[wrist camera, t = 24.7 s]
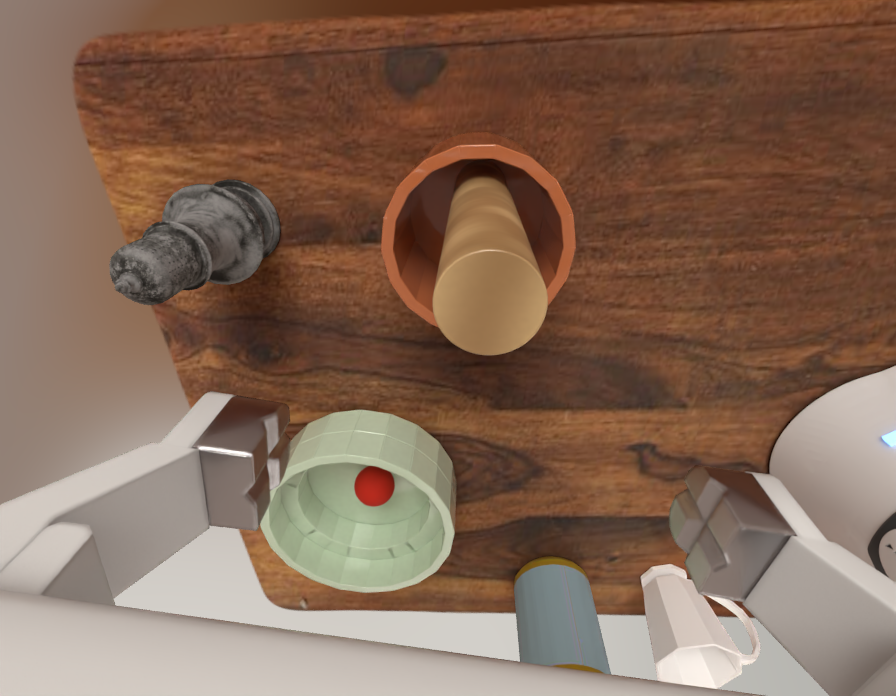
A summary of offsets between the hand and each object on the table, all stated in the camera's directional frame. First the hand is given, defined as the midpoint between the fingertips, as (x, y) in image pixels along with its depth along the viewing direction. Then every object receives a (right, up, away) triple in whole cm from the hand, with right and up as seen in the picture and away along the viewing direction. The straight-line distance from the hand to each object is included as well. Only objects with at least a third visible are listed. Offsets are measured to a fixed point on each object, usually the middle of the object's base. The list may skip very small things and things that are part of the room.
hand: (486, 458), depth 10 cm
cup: (+21, -20, +36) cm, 46 cm away
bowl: (-7, -9, +31) cm, 33 cm away
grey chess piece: (-14, +10, +21) cm, 28 cm away
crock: (+1, +11, +20) cm, 23 cm away
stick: (+1, +12, +19) cm, 22 cm away
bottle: (+9, -20, +36) cm, 42 cm away
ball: (-7, -9, +28) cm, 30 cm away
